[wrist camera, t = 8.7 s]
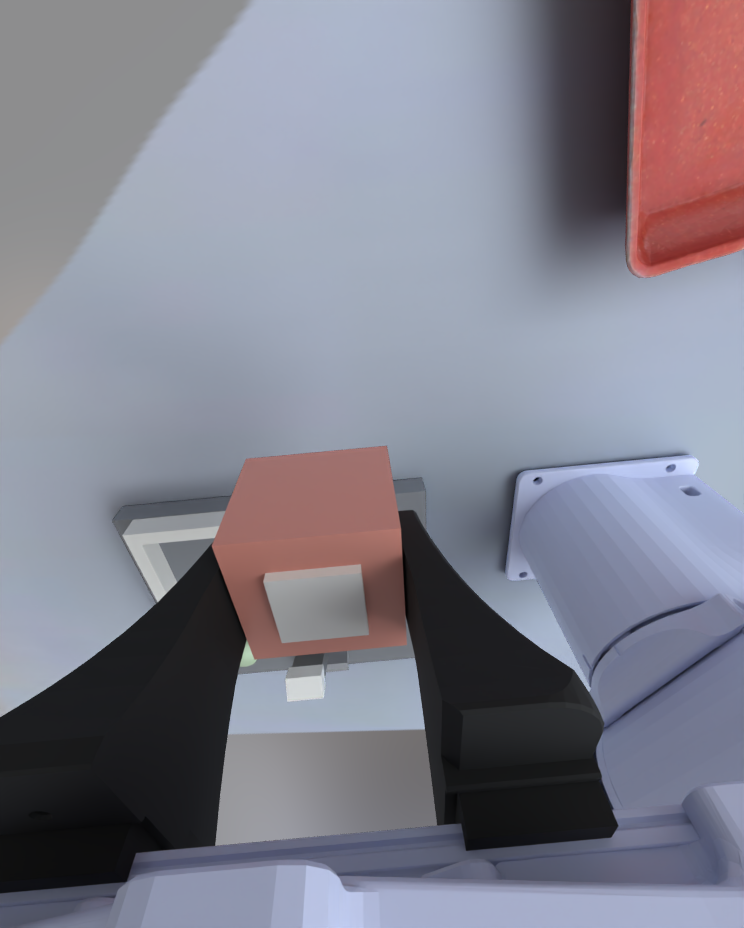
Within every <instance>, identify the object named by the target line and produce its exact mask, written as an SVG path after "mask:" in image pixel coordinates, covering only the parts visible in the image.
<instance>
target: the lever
mask: <svg viewBox="0 0 744 928" xmlns="http://www.w3.org/2000/svg"><path fill="white" fill-rule="evenodd" d="M328 658H329V653H319V654H308V655H298V656H295V659H294V662H293V665H292V667H290V668H289V669H288V672H287V675H286V678H285V683H286V691H287V700H288V702H291V701H302V700H312V699H323V698H324V693H325V687H326V684H325V674H326V669H327V663H328Z"/></svg>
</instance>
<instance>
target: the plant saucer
mask: <svg viewBox="0 0 744 928" xmlns="http://www.w3.org/2000/svg"><path fill="white" fill-rule="evenodd" d="M625 249H626V263H627V266H628V269H629V271H630V272H631V273H632V274H633V275H635V276H637V277H638V278H650V277H655V276H658V275H661V274H664V273H667V272H670V271H674V270H677V269H680V268H683V267H686V266H690V265H694V264H698V263H701V262H704V261H707V260H711V259H715V258H718V257H722V256H725V255H728V254H731V253H734V252H737V251H740V250H743V249H744V0H631V19H630V74H629V110H628V150H627V198H626V239H625Z"/></svg>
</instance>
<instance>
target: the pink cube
mask: <svg viewBox="0 0 744 928" xmlns="http://www.w3.org/2000/svg"><path fill="white" fill-rule="evenodd" d="M212 548H213V551H214V553H215V556H216V559H217V561H218V564H219V567H220V569H221V572H222V575H223V577H224V580H225V583H226V585H227V588H228V591H229V593H230V596H231V599H232V601H233V604H234V607H235V609H236V612H237V615H238V617H239V620H240V623H241V625H242V628H243V631H244V633H245V636H246V639H247V641H248V644H249V647H250V649H251V652H252V655H253V657H254V660H256V659H266V658H277V657H287V656H298V655H308V654H319V653H330V652H340V651H351V650H361V649H372V648H382V647H393V646H403V645H407V637H406V617H405V598H404V578H403V559H402V539H401V526H400V520H399V514H398V508H397V502H396V496H395V490H394V485H393V479H392V473H391V467H390V461H389V455H388V449H387V446H379V447H369V448H358V449H347V450H336V451H325V452H315V453H304V454H293V455H282V456H271V457H261V458H250V459H246V460H245V463H244V465H243V468H242V470H241V473H240V475H239V478H238V480H237V483H236V486H235V488H234V491H233V493H232V496H231V498H230V501H229V503H228V506H227V508H226V511H225V514H224V516H223V519H222V521H221V524H220V526H219V529H218V531H217V534H216V536H215V539H214V541H213V544H212Z"/></svg>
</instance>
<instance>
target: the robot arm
mask: <svg viewBox="0 0 744 928" xmlns="http://www.w3.org/2000/svg"><path fill="white" fill-rule="evenodd" d="M669 465H670V466H669ZM698 465H699V461H698V459H696V458H695V457H693V456H692V455H684V456H673V457H663V458H652V459H642V460H631V461H621V462H610V463H600V464H590V465H579V466H569V467H558V468H548V469H537V470H527V471H523V472H521V473H520V474H519V475H518V476H517V479H516V488H515V496H514V504H513V512H512V520H511V528H510V536H509V545H508V553H507V561H506V569H505V574H506V577H507V578H508V580H511V581H516V580H527V579H536V580H537V582H538V584H539V586H540V588H541V590H542V592H543V594H544V596H545V598H546V600H547V602H548V604H549V606H550V608H551V610H552V612H553V614H554V616H555V618H556V620H557V622H558V624H559V626H560V628H561V630H562V632H563V634H564V636H565V638H566V640H567V642H568V644H569V646H570V648H571V650H572V652H573V654H574V656H575V658H576V660H577V662H578V664H579V666H580V668H581V670H582V672H583V674H584V676H585V678H586V680H587V682H588V684H589V686H590V687H591V690H590V692H588V690H587V689H586V687H585V686H584V684H583V683H582V681H581V680H580V678H579V677H578V675H577V674H576V672H575V671H574V670H573V669H572V668H570V667H568V666H567V665H565V664H564V663H562V662H561V661H559V660H558V659H556V658H555V657H553V656H552V655H550V654H549V653H547V652H545V651H544V650H543V649H541V648H540V647H538V646H537V645H536V644H534V643H533V642H532V641H530V640H529V639H528V638H526V637H525V636H524V635H522V634H521V633H520V632H519V631H517V630H516V629H515V628H514V627H513V626H511V625H510V624H509V623H508V622H507V621H505V620H504V619H503V618H502V617H501V616H499V615H498V614H497V613H496V612H495V611H494V610H492V609H491V608H490V607H489V606H488V605H487V604H486V603H485V602H484V601H483V600H482V599H481V598H480V597H479V596H478V595H477V594H476V593H475V592H474V591H473V590H472V589H471V588H470V587H469V586H468V585H467V584H466V583H465V581H464V580H463V579H462V578H461V577H460V576H459V575H458V573H457V572H456V571H455V570H454V569H453V568H452V566H451V565H450V564H449V563H448V561H447V560H446V559H445V557H444V556H443V555H442V553H441V552H440V551H439V549H438V548H437V546H436V545H435V544H434V542H433V541H432V539H431V538H430V536H429V535H428V533H427V531H426V530H425V528H424V527H423V525H422V523H421V521H420V519H419V517H418V515H417V513H416V512H415V511H414V510H404V511H398V514H399V520H400V526H401V539H402V559H403V578H404V598H405V615H406V620H407V624H408V628H409V633H410V637H411V641H412V646H413V650H414V655H415V660H416V665H417V671H418V679H419V686H420V693H421V701H422V708H423V716H424V724H425V731H426V739H427V747H428V754H429V762H430V770H431V778H432V786H433V794H434V803H435V811H436V819H437V826H428V827H416V828H405V829H395V830H384V831H372V832H361V833H351V834H340V835H330V836H319V837H307V838H296V839H286V840H274V841H263V842H252V843H241V844H230V845H220V846H215V841H216V831H217V820H218V810H219V800H220V791H221V782H222V774H223V765H224V757H225V749H226V743H227V735H228V728H229V721H230V715H231V709H232V702H233V696H234V690H235V684H236V680H237V675H238V671H239V667H240V663H241V659H242V656H243V652H244V648H245V644H246V641H247V639H246V636H245V633H244V631H243V628H242V625H241V623H240V620H239V617H238V615H237V612H236V609H235V607H234V604H233V601H232V599H231V596H230V593H229V591H228V588H227V585H226V583H225V580H224V577H223V575H222V572H221V569H220V567H219V564H218V561H217V559H216V556H215V553H214V551H213V548H212V544H213V542H212V544H211V545H210V546H209V547H208V548H207V549H206V551H205V552H204V553H203V554H202V555H201V556H200V558H199V559H198V560H197V561H196V562H195V563H194V564H193V566H192V567H191V568H190V569H189V570H188V571H187V572H186V573H185V575H184V576H183V577H182V578H181V579H180V580H179V581H178V582H177V583H176V584H175V585H174V586H173V587H172V588H171V589H170V590H169V591H168V592H167V593H166V594H165V595H164V596H163V597H162V598H161V599H160V601H158V602H157V603H156V604H155V605H154V606H153V607H152V608H151V609H150V610H149V611H148V612H147V613H146V614H145V615H143V616H142V617H141V618H140V619H139V620H138V621H137V622H136V623H134V624H133V625H132V626H131V627H130V628H129V629H127V630H126V631H125V632H124V633H123V634H121V635H120V636H119V637H118V638H116V639H115V640H114V641H112V642H111V643H110V644H109V645H107V646H106V647H105V648H103V649H102V650H101V651H100V652H98V653H97V654H96V655H95V656H93V657H92V658H91V659H89V660H88V661H86V662H85V663H84V664H82V665H81V666H79V667H78V668H77V669H75V670H74V671H72V672H71V673H70V674H68V675H67V676H65V677H64V678H62V679H61V680H59V681H58V682H56V683H55V684H53V685H52V686H50V687H49V688H47V689H46V690H44V691H43V692H41V693H39V694H38V695H36V696H35V697H33V698H31V699H30V700H28V701H26V702H25V703H23V704H21V705H20V706H18V707H17V708H15V709H13V710H12V711H10V712H8V713H7V714H5V715H3V716H2V717H0V928H744V513H743V512H741V511H740V510H739V509H738V508H736V507H735V506H734V505H732V504H731V503H730V502H729V501H727V500H726V499H725V498H723V497H722V496H721V495H720V494H718V493H717V492H716V491H715V490H713V489H712V488H711V487H709V486H708V485H707V484H706V483H704V482H703V481H702V480H701V479H699V478H698V477H697V476H695V473H696V470H697V468H698ZM667 466H669V467H668V468H667ZM536 477H539V479H538V480H536V481H533V480H534V479H535V478H536ZM521 572H522V573H521Z"/></svg>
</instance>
